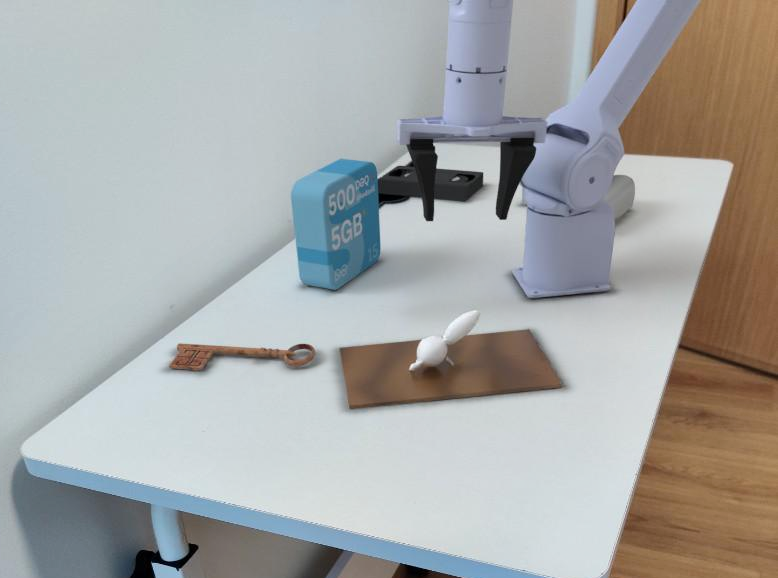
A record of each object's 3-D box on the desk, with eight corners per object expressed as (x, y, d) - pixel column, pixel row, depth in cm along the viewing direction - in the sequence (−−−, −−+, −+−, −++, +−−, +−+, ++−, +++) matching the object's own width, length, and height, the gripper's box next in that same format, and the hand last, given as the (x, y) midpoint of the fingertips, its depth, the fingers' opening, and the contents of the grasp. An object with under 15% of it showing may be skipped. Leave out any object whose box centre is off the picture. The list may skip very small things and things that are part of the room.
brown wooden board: (529, 332, 88) (529, 329, 87) (561, 387, 78) (562, 383, 78) (339, 351, 87) (339, 347, 86) (349, 409, 77) (349, 405, 77)
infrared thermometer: (534, 202, 122) (636, 209, 115) (498, 229, 115) (604, 237, 107) (534, 169, 120) (638, 173, 112) (497, 194, 112) (606, 200, 105)
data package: (331, 294, 98) (322, 188, 91) (299, 288, 100) (288, 183, 92) (381, 259, 106) (377, 158, 98) (351, 254, 108) (344, 155, 100)
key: (164, 370, 86) (303, 380, 82) (162, 362, 85) (302, 372, 82) (187, 341, 90) (320, 349, 86) (185, 333, 89) (319, 341, 86)
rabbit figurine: (395, 361, 83) (454, 309, 84) (420, 392, 84) (479, 340, 84) (406, 355, 77) (470, 298, 78) (433, 387, 78) (496, 331, 79)
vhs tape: (483, 185, 127) (484, 171, 126) (465, 201, 122) (465, 187, 121) (398, 178, 132) (398, 165, 131) (377, 193, 127) (376, 179, 126)
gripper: (405, 76, 75) (400, 231, 83) (563, 75, 76) (543, 228, 84) (395, 64, 80) (391, 210, 89) (542, 63, 82) (525, 208, 90)
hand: (464, 217), depth 87 cm, fingers open, 7 cm apart
